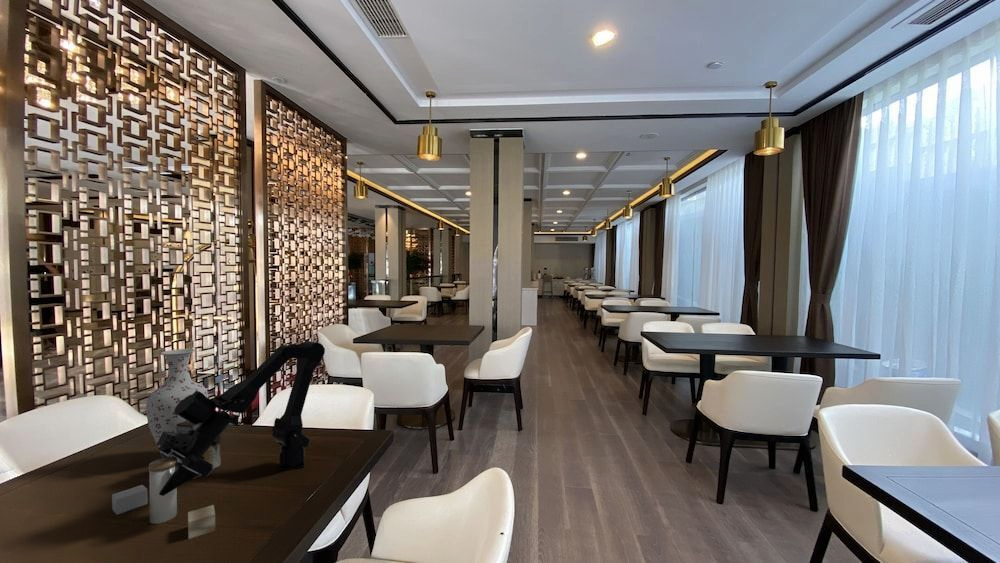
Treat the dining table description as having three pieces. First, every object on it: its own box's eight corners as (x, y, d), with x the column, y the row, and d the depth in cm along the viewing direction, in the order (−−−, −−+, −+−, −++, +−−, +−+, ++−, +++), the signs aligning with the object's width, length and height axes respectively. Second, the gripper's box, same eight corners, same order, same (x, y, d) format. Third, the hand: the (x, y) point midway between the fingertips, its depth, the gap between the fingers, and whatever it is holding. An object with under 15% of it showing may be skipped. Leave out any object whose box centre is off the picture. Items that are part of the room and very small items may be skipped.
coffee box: (205, 463, 129) (204, 413, 129) (221, 465, 128) (221, 415, 127) (176, 477, 120) (175, 423, 120) (193, 479, 119) (193, 425, 118)
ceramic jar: (180, 509, 104) (180, 455, 104) (173, 520, 99) (173, 464, 99) (153, 514, 102) (153, 459, 102) (145, 526, 97) (145, 468, 97)
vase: (144, 472, 123) (144, 358, 122) (147, 454, 135) (147, 350, 135) (210, 458, 133) (209, 352, 132) (207, 441, 145) (206, 345, 145)
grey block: (142, 499, 109) (142, 484, 109) (147, 504, 106) (147, 489, 106) (112, 510, 104) (112, 494, 104) (116, 515, 101) (116, 499, 101)
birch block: (213, 520, 100) (213, 504, 100) (215, 530, 96) (215, 514, 96) (188, 528, 96) (188, 512, 96) (188, 539, 93) (188, 522, 93)
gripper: (167, 410, 108) (112, 467, 99) (198, 425, 98) (140, 490, 89) (201, 430, 115) (153, 485, 106) (233, 446, 105) (182, 508, 96)
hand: (156, 491), depth 99 cm, fingers closed on ceramic jar, 5 cm apart
